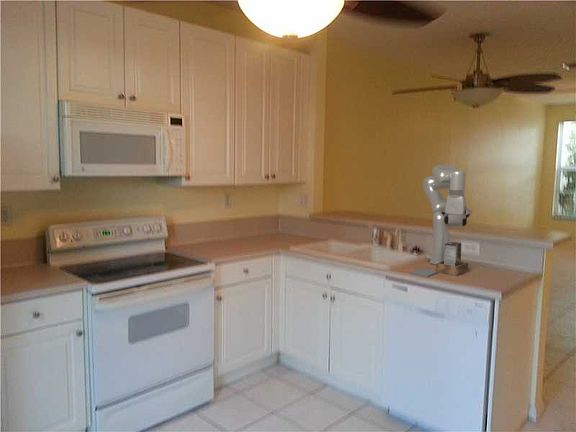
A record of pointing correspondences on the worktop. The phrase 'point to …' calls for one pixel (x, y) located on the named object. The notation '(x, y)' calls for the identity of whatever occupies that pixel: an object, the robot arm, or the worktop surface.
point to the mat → (424, 272)
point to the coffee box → (452, 254)
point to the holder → (452, 268)
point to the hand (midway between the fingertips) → (455, 224)
